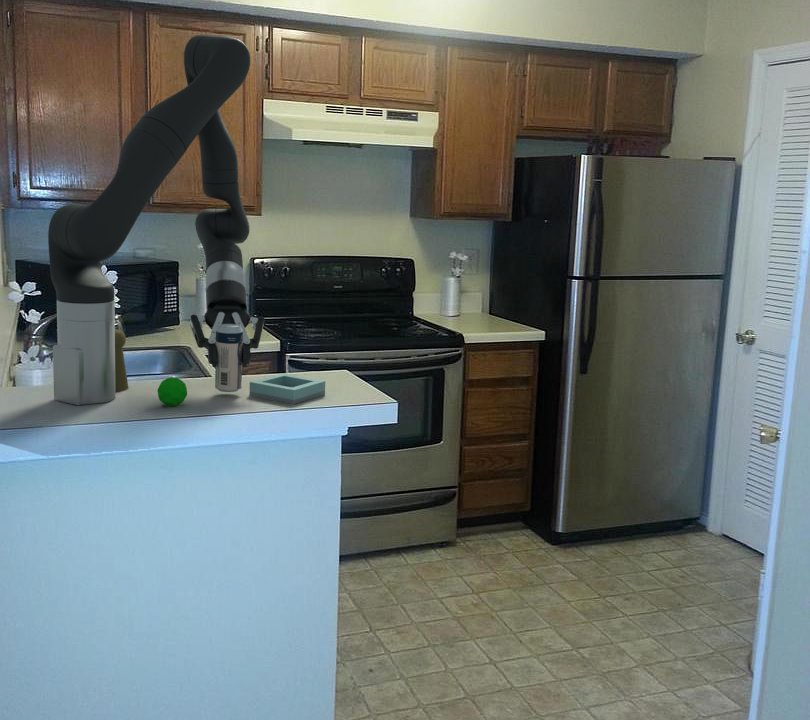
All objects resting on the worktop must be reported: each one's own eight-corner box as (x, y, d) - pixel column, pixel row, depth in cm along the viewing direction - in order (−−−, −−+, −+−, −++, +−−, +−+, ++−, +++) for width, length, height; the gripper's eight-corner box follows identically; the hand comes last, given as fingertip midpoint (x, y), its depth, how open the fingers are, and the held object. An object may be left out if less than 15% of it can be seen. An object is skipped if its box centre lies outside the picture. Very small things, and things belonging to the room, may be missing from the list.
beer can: (246, 391, 152) (247, 327, 150) (221, 393, 149) (223, 328, 147) (234, 386, 156) (235, 322, 154) (210, 388, 153) (211, 323, 151)
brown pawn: (134, 385, 156) (133, 328, 154) (120, 393, 150) (119, 333, 148) (103, 383, 156) (102, 325, 154) (87, 390, 150) (86, 330, 148)
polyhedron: (152, 407, 141) (152, 380, 141) (164, 400, 146) (164, 374, 145) (181, 409, 141) (181, 382, 140) (191, 403, 146) (191, 376, 145)
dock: (293, 404, 149) (294, 390, 148) (249, 395, 153) (249, 381, 153) (324, 394, 157) (325, 381, 157) (282, 386, 162) (282, 373, 161)
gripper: (188, 276, 154) (189, 352, 145) (265, 279, 158) (272, 353, 149) (186, 301, 160) (188, 376, 151) (261, 303, 164) (267, 376, 155)
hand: (229, 364), depth 150 cm, fingers closed on beer can, 4 cm apart
